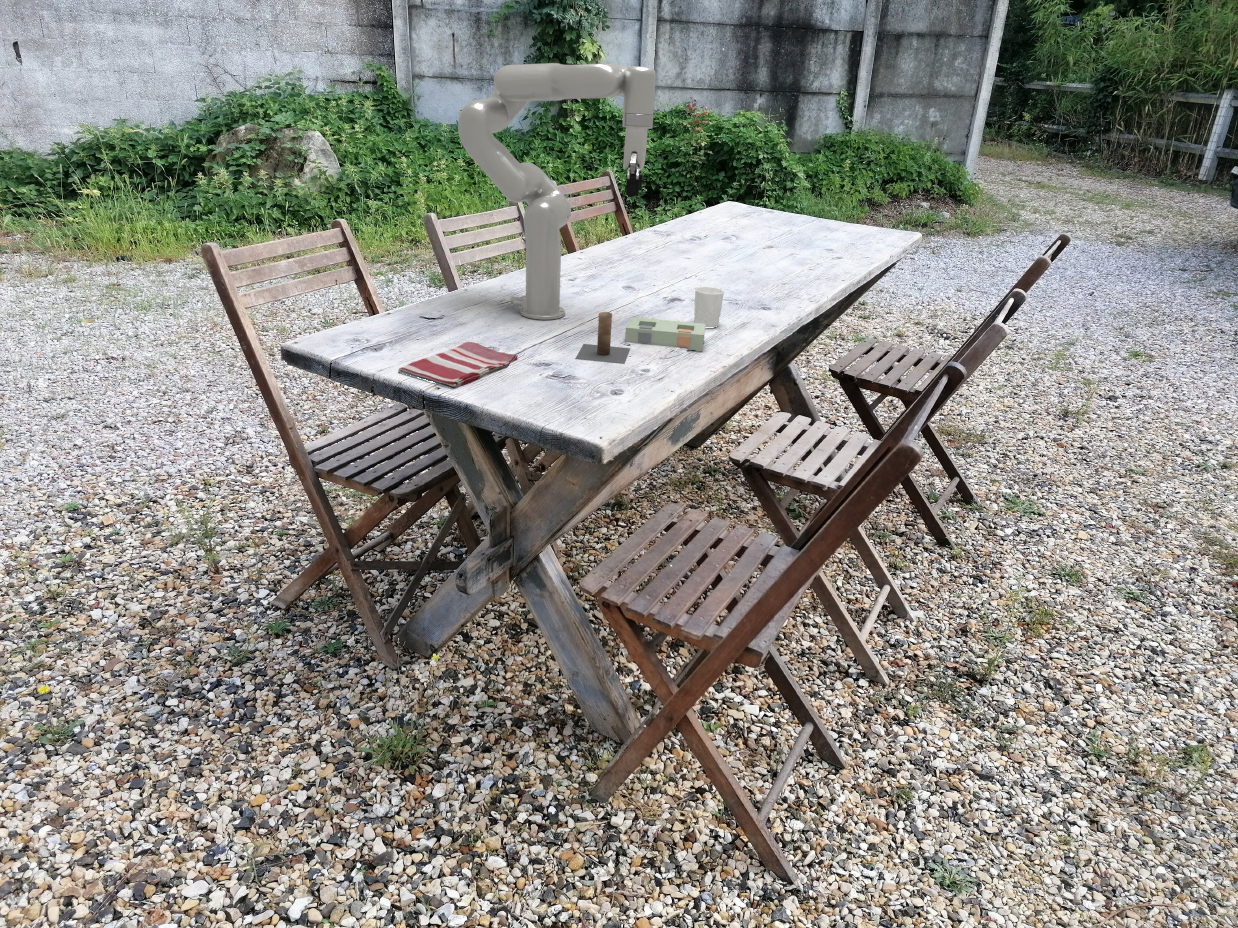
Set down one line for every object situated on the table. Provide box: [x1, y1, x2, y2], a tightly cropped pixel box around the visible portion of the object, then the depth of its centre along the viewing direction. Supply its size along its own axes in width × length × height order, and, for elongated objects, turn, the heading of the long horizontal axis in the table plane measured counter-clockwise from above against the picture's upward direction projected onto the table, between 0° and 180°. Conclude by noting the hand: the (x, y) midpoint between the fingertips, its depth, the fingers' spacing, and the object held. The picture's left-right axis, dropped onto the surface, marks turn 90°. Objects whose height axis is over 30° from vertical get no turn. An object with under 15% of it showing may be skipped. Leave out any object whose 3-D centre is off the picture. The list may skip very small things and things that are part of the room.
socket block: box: [624, 316, 706, 352], centre depth 218 cm, size 20×10×5 cm, turn 82°
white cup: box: [693, 286, 725, 327], centre depth 233 cm, size 8×8×10 cm
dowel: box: [596, 311, 613, 356], centre depth 203 cm, size 3×3×10 cm
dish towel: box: [397, 341, 519, 390], centre depth 193 cm, size 17×23×3 cm
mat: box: [574, 343, 631, 365], centre depth 206 cm, size 12×12×1 cm
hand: (633, 192), depth 215 cm, fingers open, 9 cm apart
